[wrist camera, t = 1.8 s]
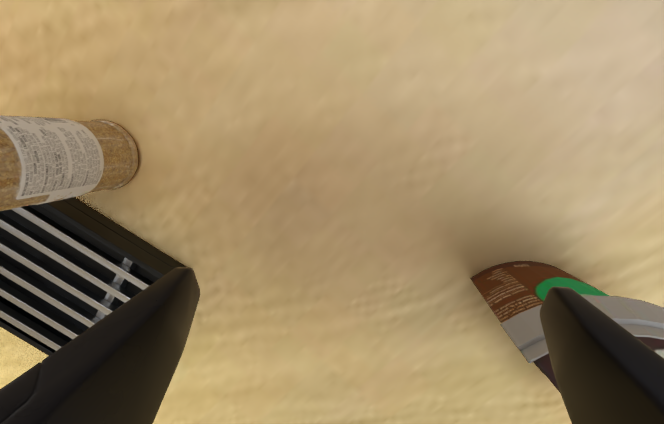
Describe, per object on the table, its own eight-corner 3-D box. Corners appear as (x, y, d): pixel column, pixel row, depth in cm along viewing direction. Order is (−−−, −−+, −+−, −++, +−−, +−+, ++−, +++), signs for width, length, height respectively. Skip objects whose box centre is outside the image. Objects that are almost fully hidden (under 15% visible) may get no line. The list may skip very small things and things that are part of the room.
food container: (655, 346, 23) (861, 497, 14) (569, 396, 25) (702, 568, 15) (539, 200, 22) (675, 252, 12) (455, 261, 23) (519, 352, 14)
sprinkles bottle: (74, 180, 25) (-254, 233, 12) (78, 112, 24) (-278, 85, 11) (139, 195, 25) (-122, 266, 11) (145, 127, 24) (-133, 119, 10)
